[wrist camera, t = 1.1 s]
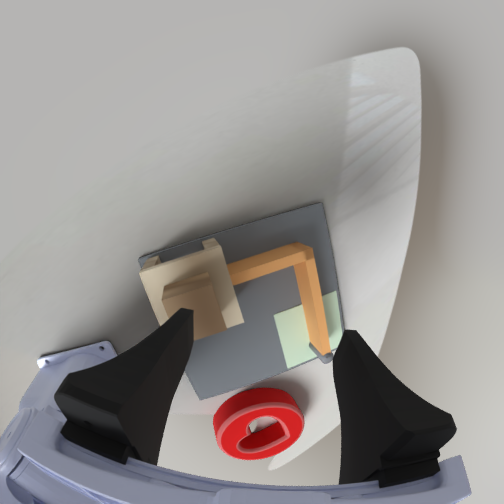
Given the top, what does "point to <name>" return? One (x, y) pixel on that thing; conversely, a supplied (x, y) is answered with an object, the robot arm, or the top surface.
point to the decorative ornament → (248, 409)
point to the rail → (307, 285)
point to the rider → (194, 289)
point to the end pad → (306, 330)
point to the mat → (256, 300)
